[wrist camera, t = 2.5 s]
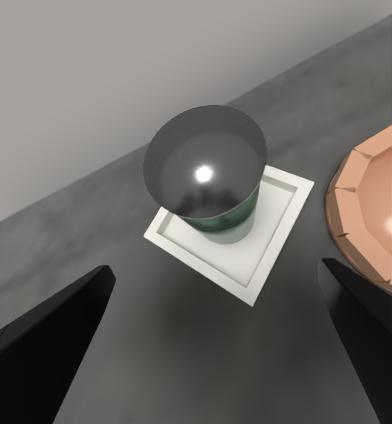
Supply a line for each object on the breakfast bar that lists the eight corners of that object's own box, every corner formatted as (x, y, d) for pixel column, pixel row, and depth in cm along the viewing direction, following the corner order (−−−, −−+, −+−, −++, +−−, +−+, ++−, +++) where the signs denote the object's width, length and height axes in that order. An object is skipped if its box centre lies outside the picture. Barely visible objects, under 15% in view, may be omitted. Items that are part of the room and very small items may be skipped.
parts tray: (306, 192, 19) (314, 182, 17) (251, 301, 18) (252, 306, 15) (205, 154, 23) (201, 141, 21) (154, 239, 22) (143, 236, 19)
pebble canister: (266, 202, 19) (290, 123, 9) (237, 257, 18) (225, 242, 8) (212, 179, 21) (181, 94, 11) (184, 227, 20) (122, 185, 10)
